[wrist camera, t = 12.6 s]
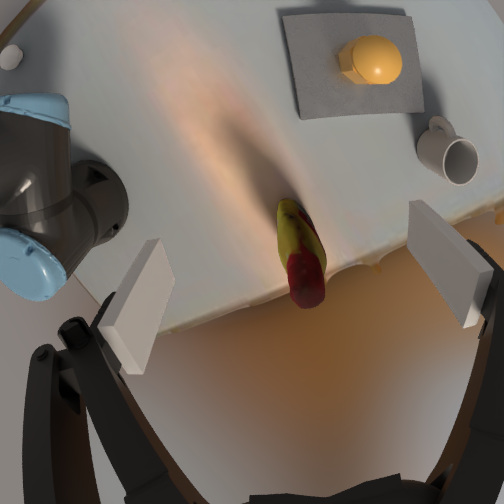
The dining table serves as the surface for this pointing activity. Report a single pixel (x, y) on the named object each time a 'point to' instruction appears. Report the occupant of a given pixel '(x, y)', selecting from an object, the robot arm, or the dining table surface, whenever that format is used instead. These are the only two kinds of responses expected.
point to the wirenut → (370, 60)
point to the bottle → (301, 254)
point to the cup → (447, 153)
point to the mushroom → (10, 57)
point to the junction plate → (329, 72)
